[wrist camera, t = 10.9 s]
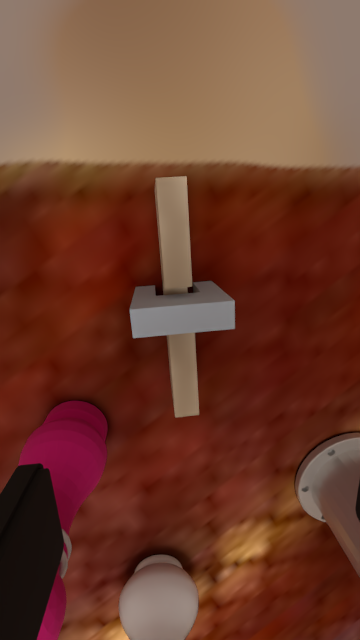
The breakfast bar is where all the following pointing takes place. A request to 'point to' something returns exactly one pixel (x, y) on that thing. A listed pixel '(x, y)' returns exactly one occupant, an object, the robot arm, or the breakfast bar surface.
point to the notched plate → (181, 311)
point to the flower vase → (159, 600)
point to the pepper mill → (67, 480)
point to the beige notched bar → (177, 287)
